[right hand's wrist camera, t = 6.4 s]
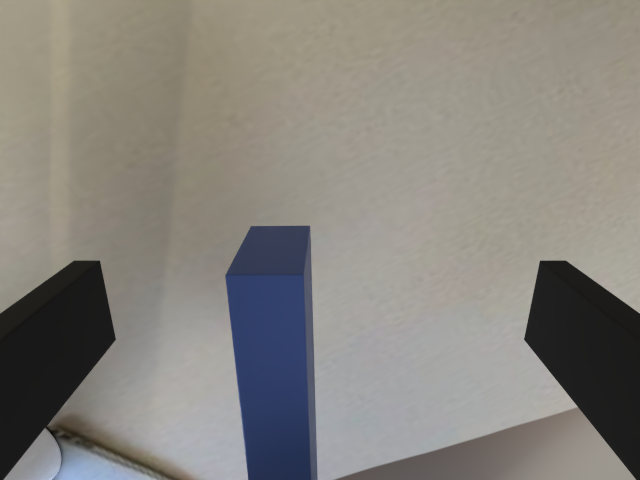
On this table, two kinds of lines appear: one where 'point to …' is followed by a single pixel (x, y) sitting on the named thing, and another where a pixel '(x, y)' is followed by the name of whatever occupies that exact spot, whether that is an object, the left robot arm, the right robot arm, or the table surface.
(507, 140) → the table surface
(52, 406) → the right robot arm
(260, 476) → the bar
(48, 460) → the left robot arm
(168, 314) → the table surface
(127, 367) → the table surface
